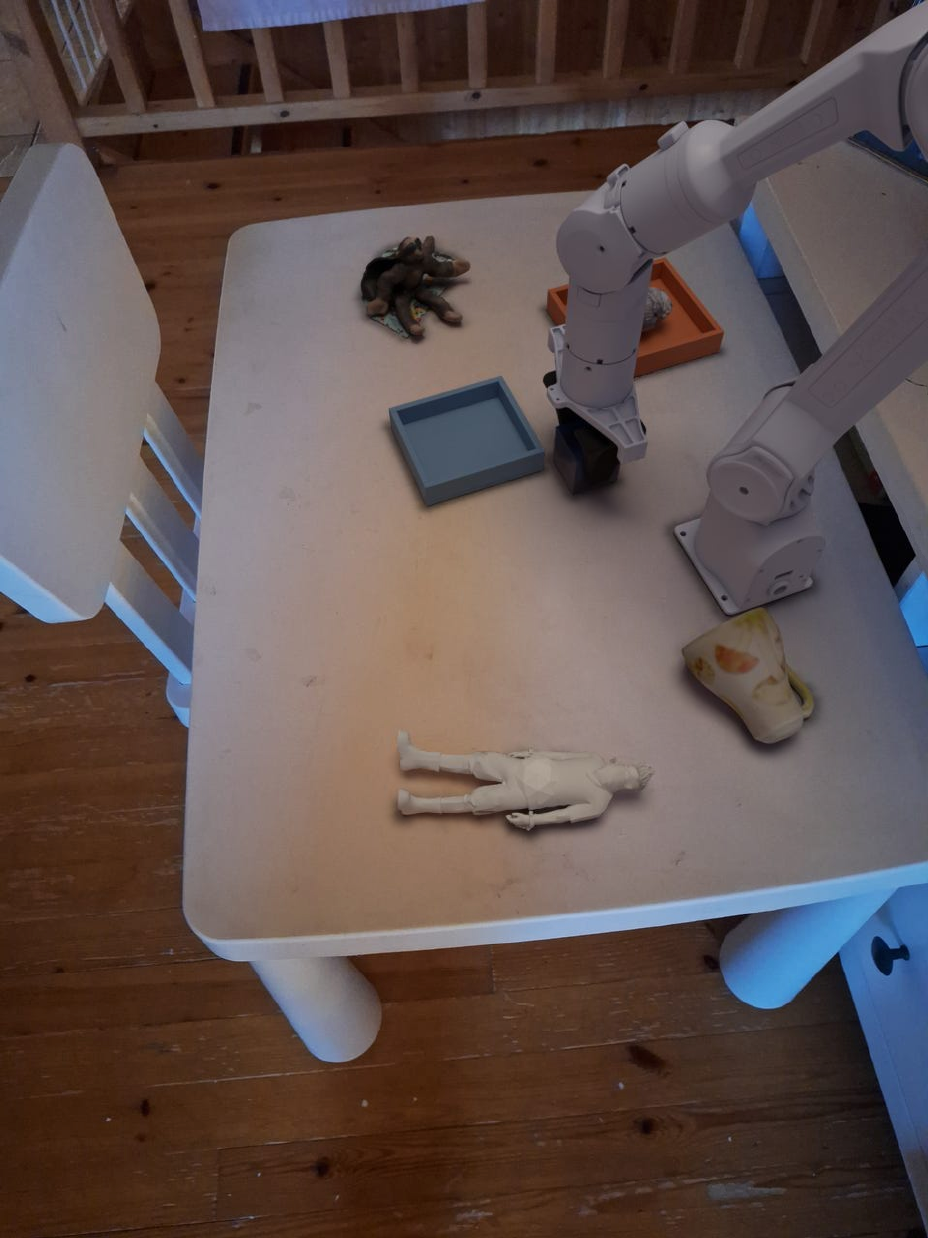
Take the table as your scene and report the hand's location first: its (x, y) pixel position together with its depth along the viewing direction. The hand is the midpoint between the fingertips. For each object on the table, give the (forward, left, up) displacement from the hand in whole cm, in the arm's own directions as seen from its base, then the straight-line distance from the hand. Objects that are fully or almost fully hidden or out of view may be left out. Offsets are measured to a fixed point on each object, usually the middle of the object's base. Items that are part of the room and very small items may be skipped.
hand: (586, 459), depth 80 cm
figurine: (-26, +17, -2) cm, 31 cm away
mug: (-25, -2, -2) cm, 25 cm away
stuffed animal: (+29, +6, -2) cm, 30 cm away
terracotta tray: (+15, -12, -1) cm, 19 cm away
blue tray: (+6, +9, -1) cm, 11 cm away
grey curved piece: (+15, -11, -1) cm, 19 cm away
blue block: (0, 0, -1) cm, 1 cm away
